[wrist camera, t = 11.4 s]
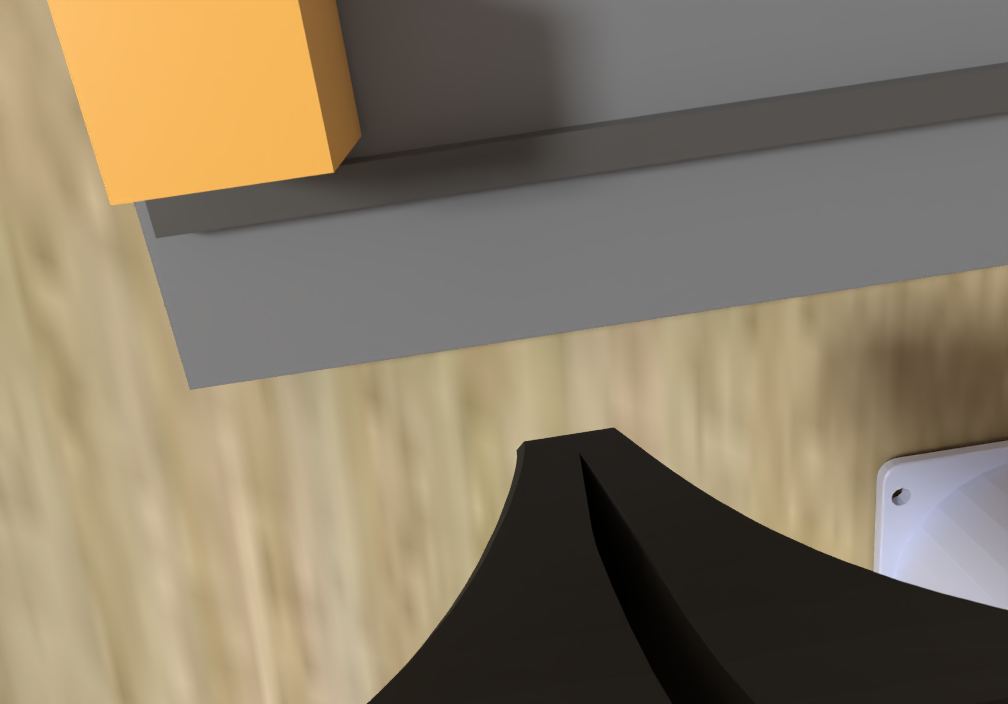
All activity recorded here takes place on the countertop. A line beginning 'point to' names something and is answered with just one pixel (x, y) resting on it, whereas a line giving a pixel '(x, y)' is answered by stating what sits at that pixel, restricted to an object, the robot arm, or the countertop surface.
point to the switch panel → (600, 176)
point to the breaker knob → (208, 91)
